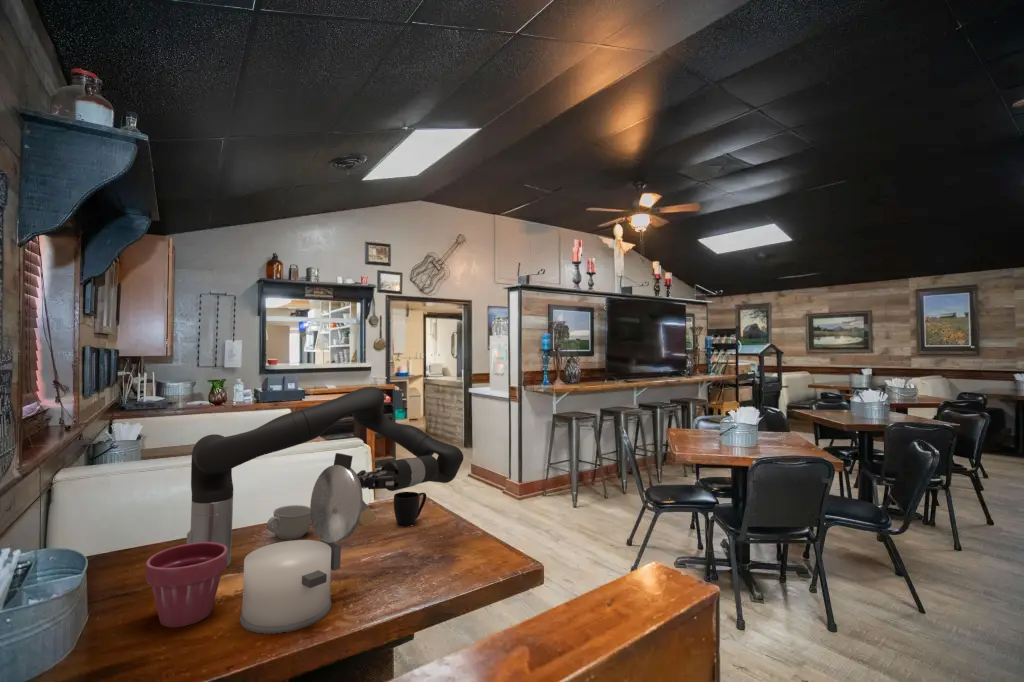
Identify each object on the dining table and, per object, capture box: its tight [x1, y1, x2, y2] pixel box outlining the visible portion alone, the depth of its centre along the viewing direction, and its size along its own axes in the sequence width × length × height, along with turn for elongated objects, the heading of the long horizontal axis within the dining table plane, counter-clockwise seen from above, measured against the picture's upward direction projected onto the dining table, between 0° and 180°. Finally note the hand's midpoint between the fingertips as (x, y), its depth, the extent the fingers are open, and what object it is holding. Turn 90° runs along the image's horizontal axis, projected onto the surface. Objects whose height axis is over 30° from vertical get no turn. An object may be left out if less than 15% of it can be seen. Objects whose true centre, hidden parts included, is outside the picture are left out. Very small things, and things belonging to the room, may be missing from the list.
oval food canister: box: [239, 539, 342, 635], centre depth 109 cm, size 19×23×12 cm
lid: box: [309, 452, 364, 543], centre depth 117 cm, size 20×17×2 cm
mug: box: [393, 491, 427, 527], centre depth 166 cm, size 8×12×10 cm
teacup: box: [266, 504, 312, 541], centre depth 151 cm, size 14×11×8 cm
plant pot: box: [145, 542, 228, 628], centre depth 105 cm, size 14×14×13 cm
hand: (346, 485), depth 119 cm, fingers closed
